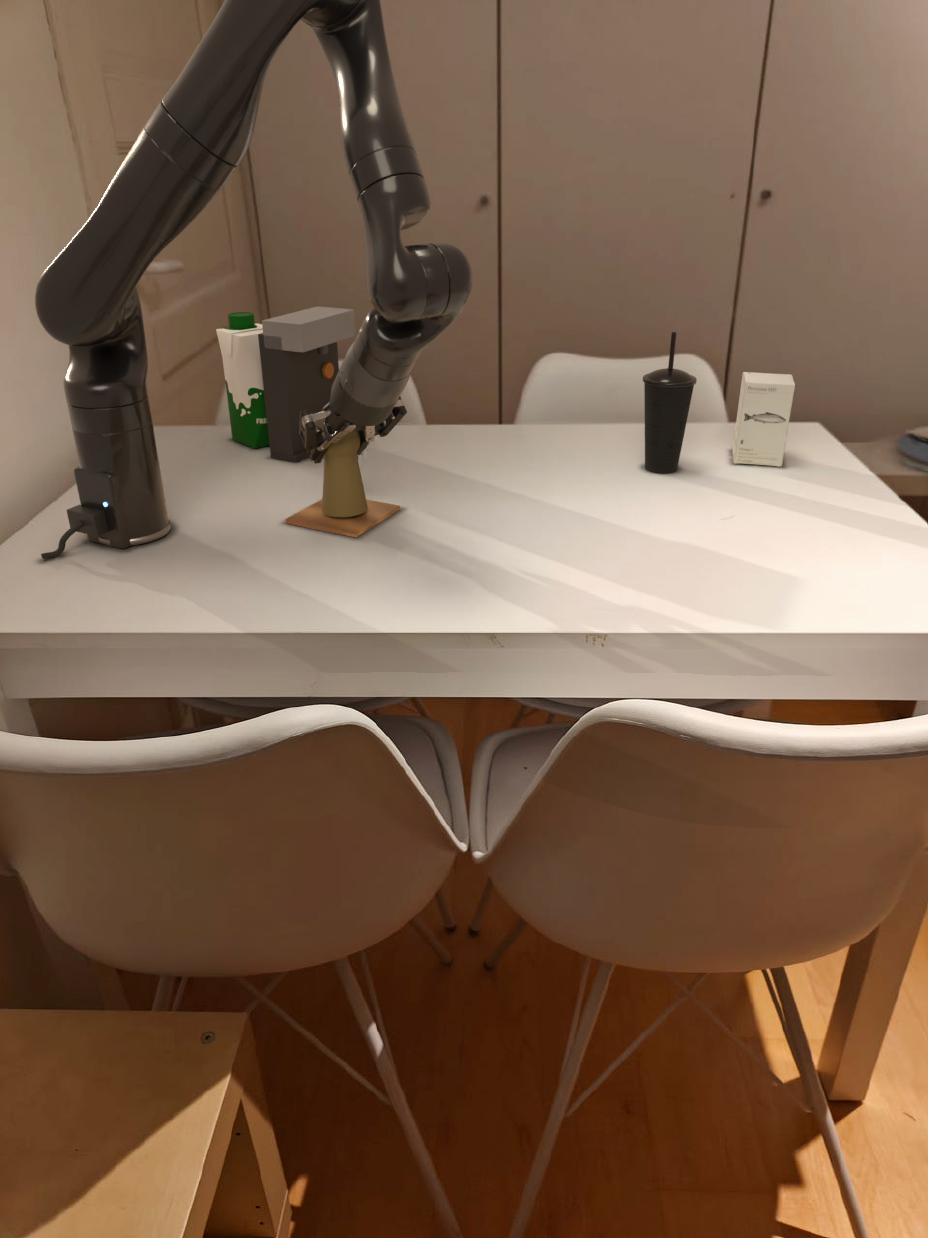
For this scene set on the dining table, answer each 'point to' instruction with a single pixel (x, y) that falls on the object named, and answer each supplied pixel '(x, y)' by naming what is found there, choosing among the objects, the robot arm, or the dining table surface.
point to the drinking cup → (666, 414)
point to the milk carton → (244, 379)
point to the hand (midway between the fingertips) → (334, 453)
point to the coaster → (343, 518)
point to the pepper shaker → (343, 479)
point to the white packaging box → (763, 418)
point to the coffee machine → (299, 370)
